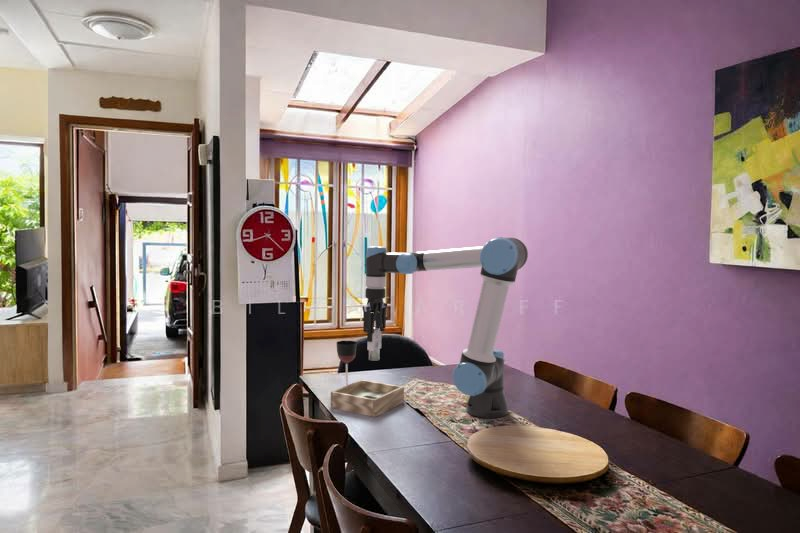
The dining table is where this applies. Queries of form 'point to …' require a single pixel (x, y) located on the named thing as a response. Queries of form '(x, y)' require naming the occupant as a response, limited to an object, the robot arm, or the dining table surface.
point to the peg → (375, 346)
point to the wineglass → (346, 353)
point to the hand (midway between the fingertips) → (374, 348)
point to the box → (367, 397)
